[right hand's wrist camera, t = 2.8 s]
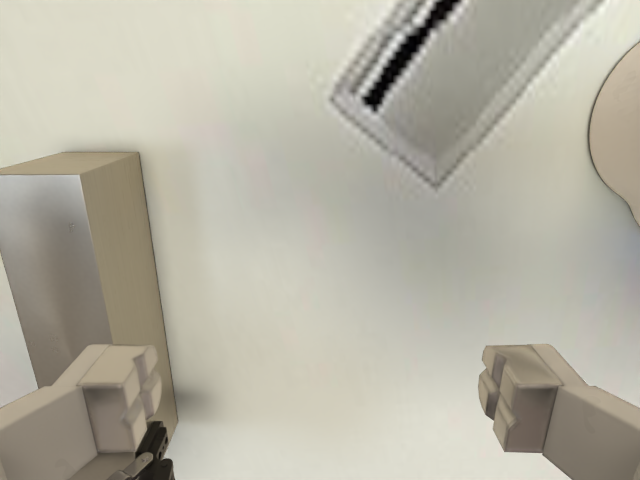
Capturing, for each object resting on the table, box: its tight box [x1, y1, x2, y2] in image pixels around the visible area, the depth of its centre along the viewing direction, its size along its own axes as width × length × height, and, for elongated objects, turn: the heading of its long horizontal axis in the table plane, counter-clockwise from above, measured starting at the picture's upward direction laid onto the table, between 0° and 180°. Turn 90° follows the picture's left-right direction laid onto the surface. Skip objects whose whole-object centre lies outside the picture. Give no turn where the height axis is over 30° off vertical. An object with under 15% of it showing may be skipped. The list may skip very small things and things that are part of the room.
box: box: [0, 152, 178, 480], centre depth 35 cm, size 28×6×9 cm, turn 0°
